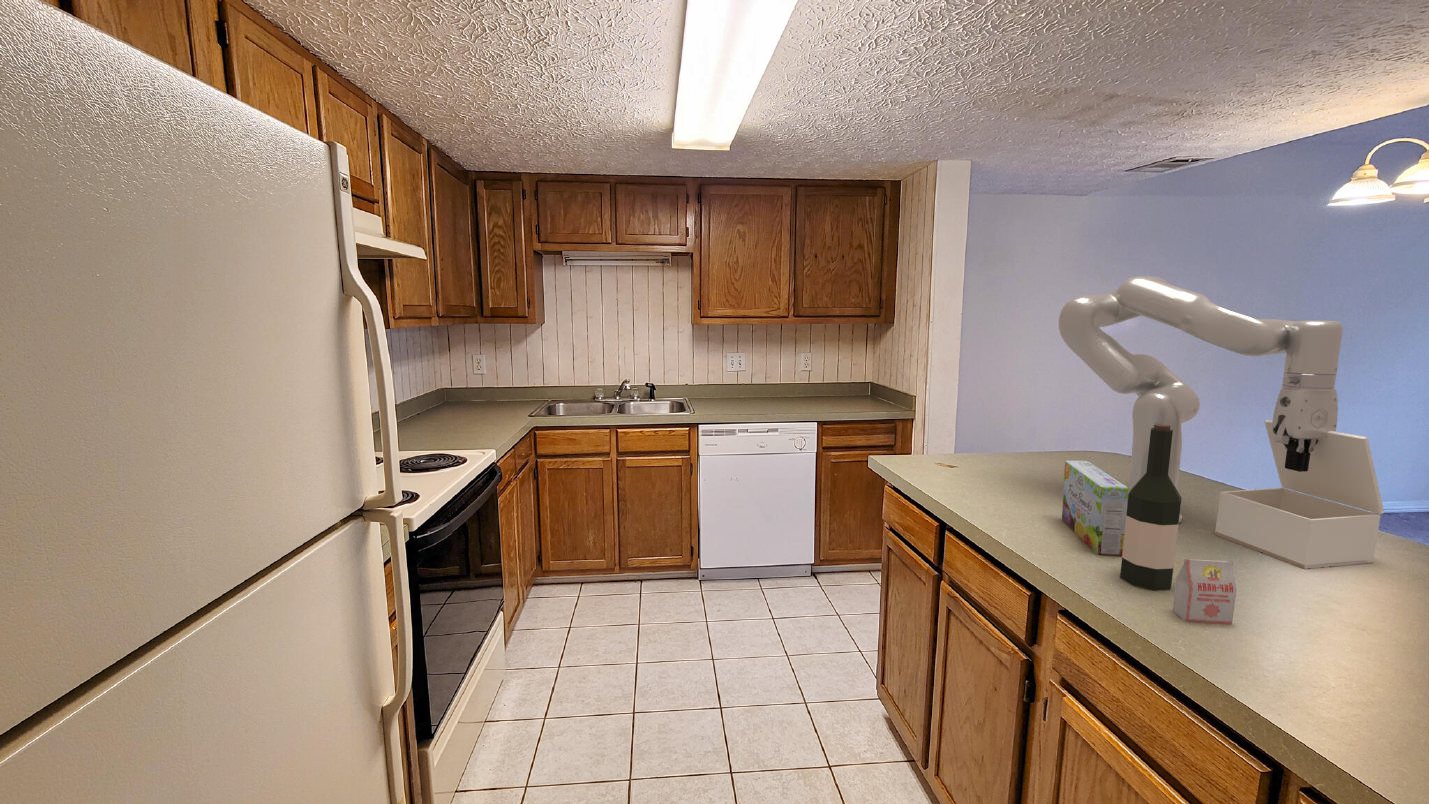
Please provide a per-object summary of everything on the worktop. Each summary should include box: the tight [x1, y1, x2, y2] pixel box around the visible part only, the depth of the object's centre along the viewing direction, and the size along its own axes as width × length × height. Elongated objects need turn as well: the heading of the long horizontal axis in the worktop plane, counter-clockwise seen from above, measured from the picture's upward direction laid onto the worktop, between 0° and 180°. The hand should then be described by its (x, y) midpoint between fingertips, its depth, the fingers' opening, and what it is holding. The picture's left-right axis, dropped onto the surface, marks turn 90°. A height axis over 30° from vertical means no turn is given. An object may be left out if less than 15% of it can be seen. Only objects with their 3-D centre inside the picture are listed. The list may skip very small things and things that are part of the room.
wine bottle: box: [1119, 424, 1182, 592], centre depth 109 cm, size 8×8×30 cm
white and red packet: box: [1172, 558, 1237, 625], centre depth 98 cm, size 4×7×10 cm, turn 80°
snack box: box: [1061, 460, 1129, 557], centre depth 132 cm, size 21×6×15 cm, turn 168°
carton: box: [1214, 487, 1382, 570], centre depth 125 cm, size 16×18×10 cm
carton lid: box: [1264, 419, 1385, 515], centre depth 123 cm, size 17×18×1 cm
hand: (1296, 469), depth 122 cm, fingers closed
